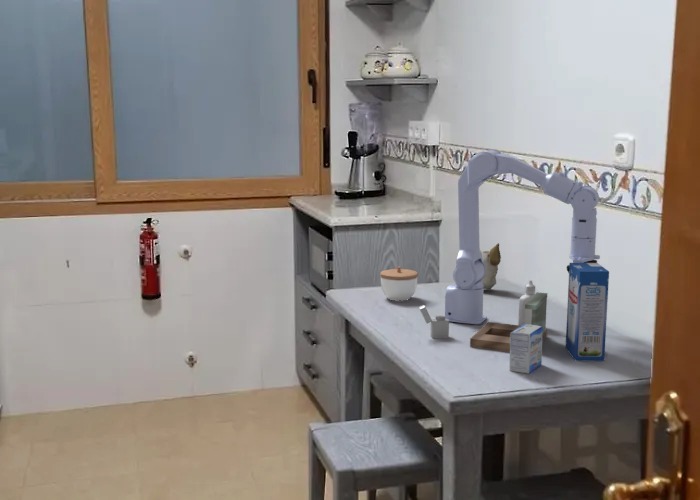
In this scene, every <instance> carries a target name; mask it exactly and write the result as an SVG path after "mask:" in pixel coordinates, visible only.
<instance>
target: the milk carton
mask: <svg viewBox="0 0 700 500" xmlns="http://www.w3.org/2000/svg"><path fill="white" fill-rule="evenodd" d="M568 265H569V273H568V288H567V289H568V290H567V293H568V294H567V308H566V309H567V310H566V312H567V313H566V332H565V334H566V335H565V349H566V350H567V351H569V352H568V353H569V354H570V355H571V357H572V356H573V357H572V358H573V360H574V361H575V360H576V361H577V362H605V351H606V337H607V335H606V333H607V318H608V316H607V315H608V300H609V285H610V284H609V281H610V271H609V270H608V269H606V268H605V267H604V266H602V265H601V264H599V263H598V262H597V263H573V262H569V264H568ZM576 361H575V362H576Z"/></svg>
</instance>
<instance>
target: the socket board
mask: <svg viewBox="0 0 700 500" xmlns="http://www.w3.org/2000/svg"><path fill="white" fill-rule="evenodd" d="M547 301H548V292H539V291H538V292H535V295H534V296H533V297H532V298H531V299H530V300H529V301H528V302H527V303H526V304H525V309H532V321H531V325H537V326H542V327H543V330H542V343H543V342H544V341H545V339H546V338H547V336H548V328H547V327H546V326H547V325H546V324H547V321H546V320H547V305H548V304H547ZM519 327H521V326H520V325H518V324H511V323H510V324H509V323H501V322H489V321H488V322H487V323H485V324H484V325H483V326H482V327H481V328H480V329H479V330H478V331H477V332H475V334H474V335H473V336H472V337H470V339H469V343H470V344H469V347H470V348H476V349H477V348H478V349H485V350H493V351H501V352H508V353H510V333H511V332H513V331H514V330H516V329H517V328H519Z"/></svg>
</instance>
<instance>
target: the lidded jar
mask: <svg viewBox="0 0 700 500" xmlns="http://www.w3.org/2000/svg"><path fill="white" fill-rule="evenodd" d="M379 274H380V275H379V277H380V286H381V290H382V293H383V294H384V296H386V297H387V299H388V300H389V299H390V300H389V301H391V300H395V301H394V302H400V301H399V300H407V299H409V300H410V298H411V297H412V296H413V295H414V294H415V293H416V289H417V287H418V276H419V273H418V272H417V271H415V270H413V269H406V268H402V267H401V266H397V267H396V268H392V269H390V268H389V269H386V270H381V271H380V273H379ZM407 301H408V300H407Z"/></svg>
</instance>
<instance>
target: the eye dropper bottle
mask: <svg viewBox="0 0 700 500" xmlns="http://www.w3.org/2000/svg"><path fill="white" fill-rule="evenodd" d="M524 289H525V292H524V293H525V294H523V295H521V296H520V297H519V300H518V322H517V325H520V326H522V325H524V324H529V325H531V321H532V309H525V304H526V303H527V302H528V301H529V300H530V299H531V298H532V297H533V296H534V295H535V294H536V285H535V284H533V280H532V279H529V280H528V284H526V285H525V288H524Z"/></svg>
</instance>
